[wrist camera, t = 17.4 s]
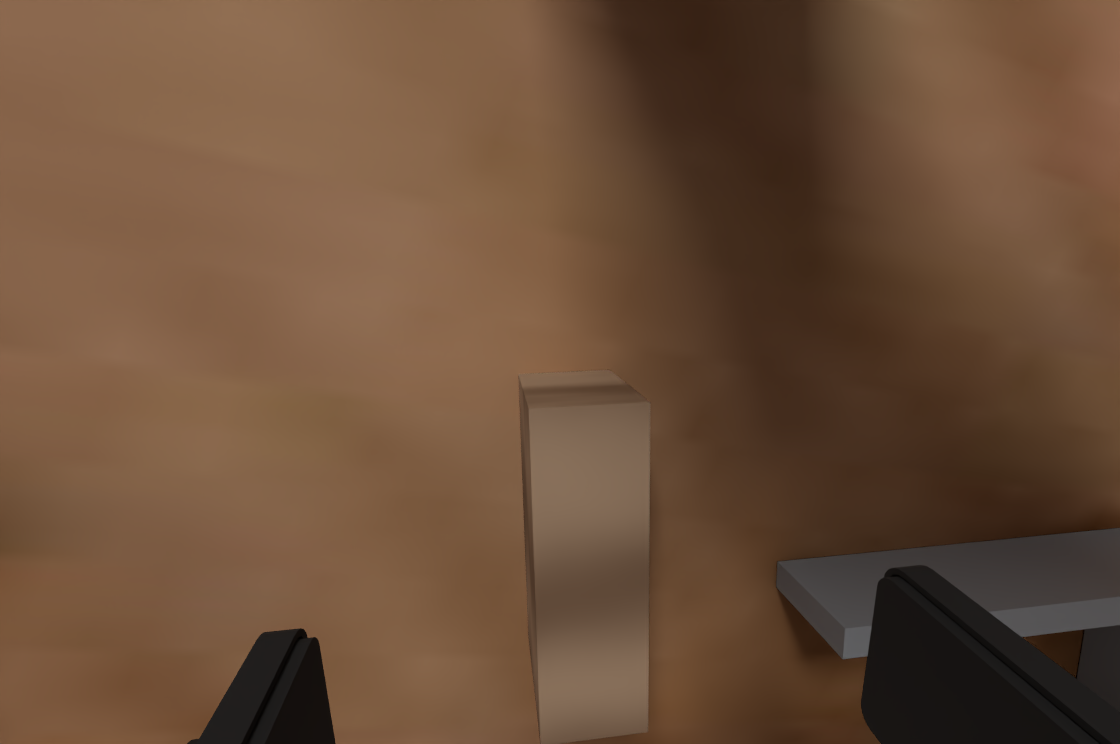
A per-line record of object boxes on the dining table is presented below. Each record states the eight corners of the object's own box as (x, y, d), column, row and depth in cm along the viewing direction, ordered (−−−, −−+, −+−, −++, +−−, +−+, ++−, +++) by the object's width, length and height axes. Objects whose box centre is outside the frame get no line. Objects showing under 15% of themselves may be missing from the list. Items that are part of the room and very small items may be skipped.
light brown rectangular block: (518, 373, 20) (528, 409, 15) (608, 368, 21) (650, 401, 16) (528, 633, 22) (540, 746, 17) (610, 624, 23) (648, 731, 18)
